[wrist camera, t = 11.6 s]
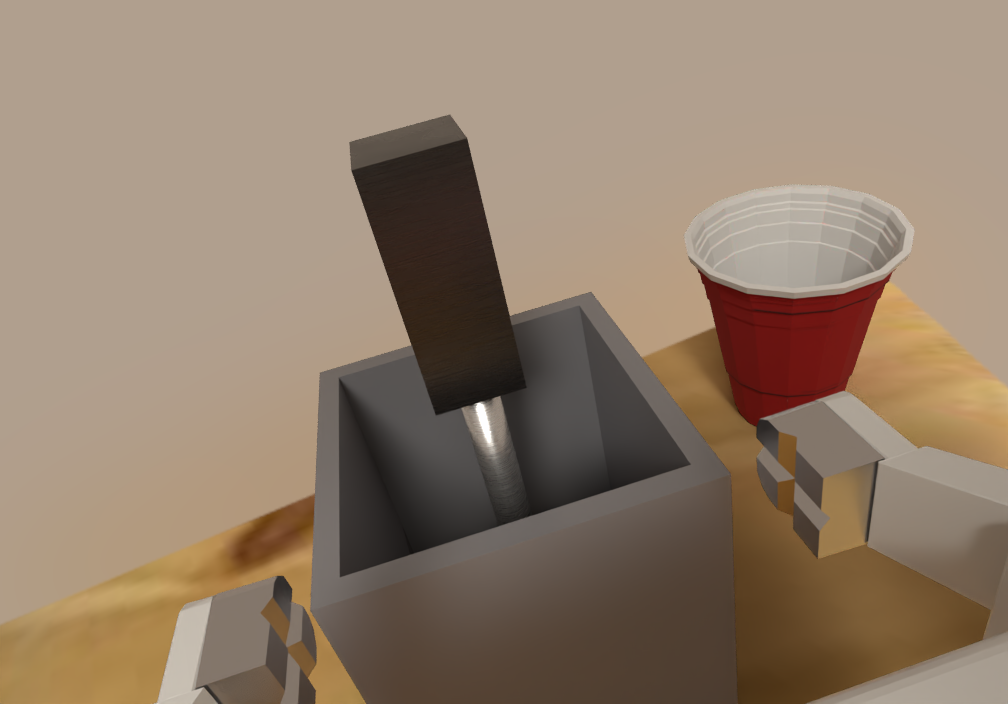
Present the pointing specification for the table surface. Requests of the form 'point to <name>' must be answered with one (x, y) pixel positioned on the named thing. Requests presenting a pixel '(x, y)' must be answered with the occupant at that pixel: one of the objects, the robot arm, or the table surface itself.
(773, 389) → the plastic cup
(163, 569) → the table surface
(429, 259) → the plunger
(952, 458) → the robot arm
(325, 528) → the box
